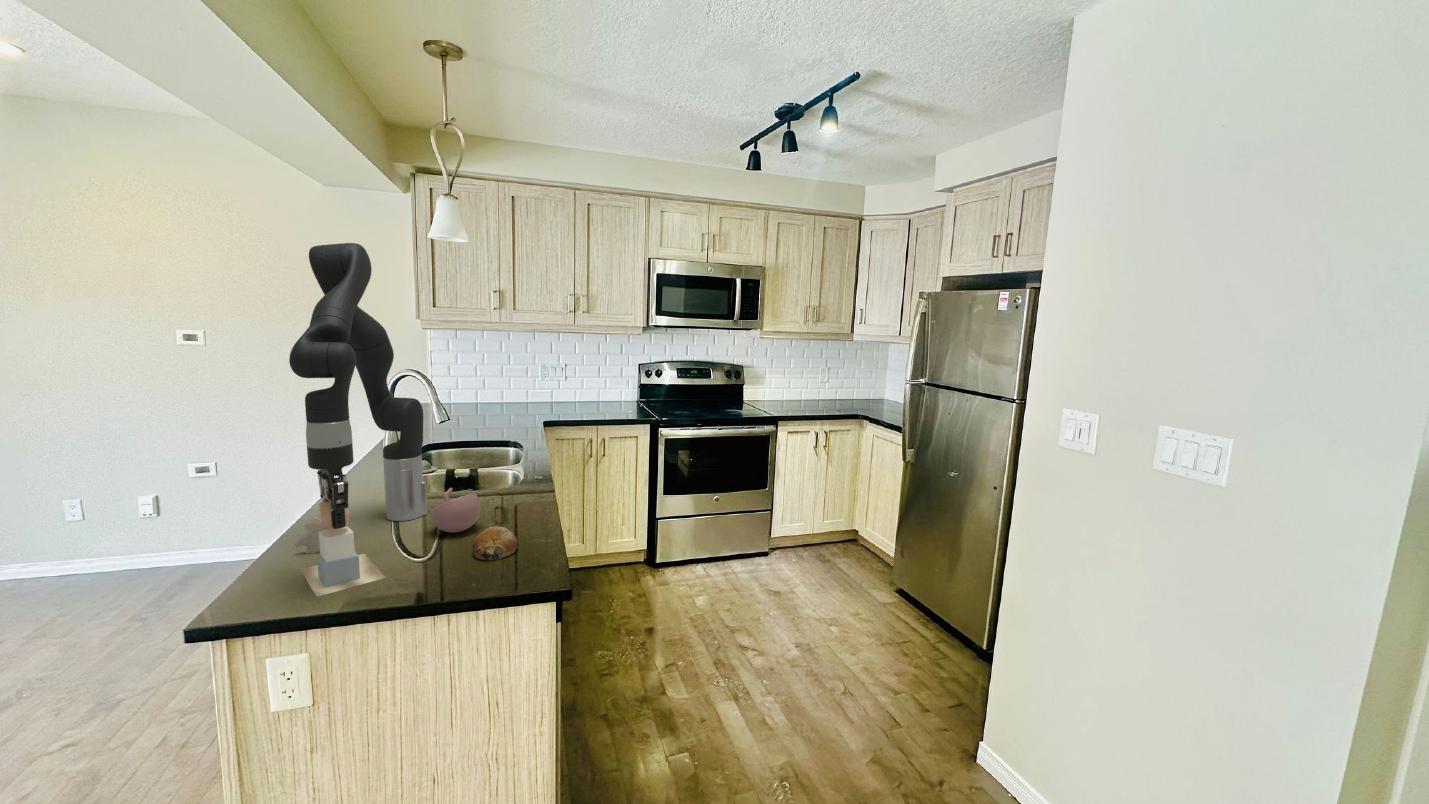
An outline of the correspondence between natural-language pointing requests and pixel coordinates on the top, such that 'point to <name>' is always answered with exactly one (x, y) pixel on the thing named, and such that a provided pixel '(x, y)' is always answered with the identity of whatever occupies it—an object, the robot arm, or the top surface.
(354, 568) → the tower lower
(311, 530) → the arrowhead
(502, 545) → the bread roll
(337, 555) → the tower upper
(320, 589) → the board
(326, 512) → the peach cylinder
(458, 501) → the mortar and pestle
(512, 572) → the top surface
